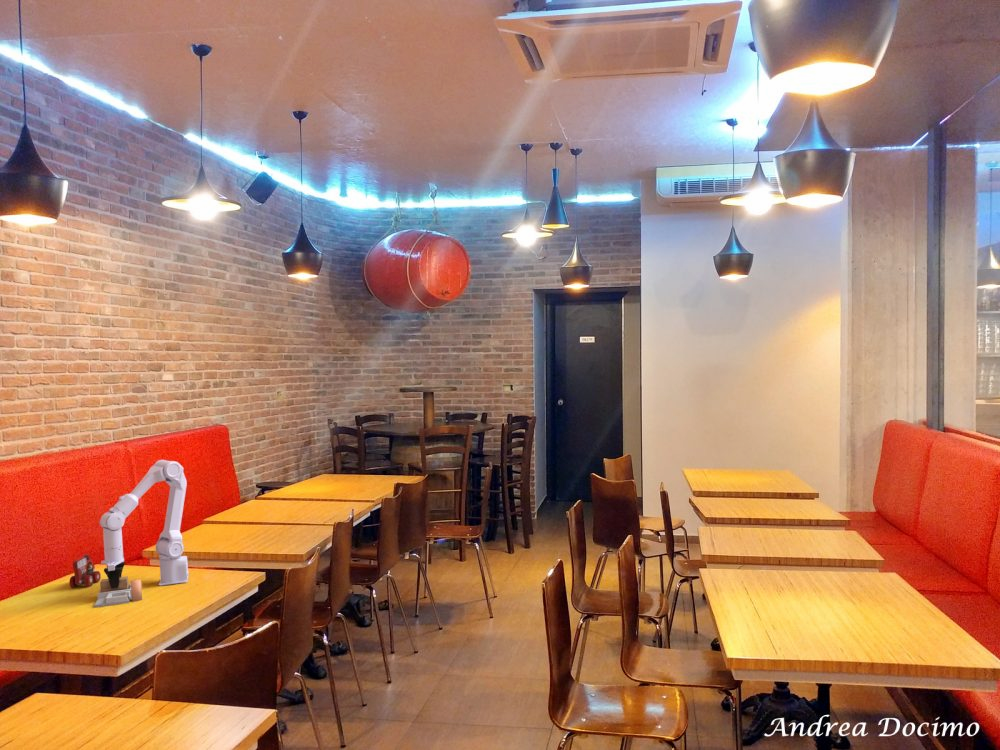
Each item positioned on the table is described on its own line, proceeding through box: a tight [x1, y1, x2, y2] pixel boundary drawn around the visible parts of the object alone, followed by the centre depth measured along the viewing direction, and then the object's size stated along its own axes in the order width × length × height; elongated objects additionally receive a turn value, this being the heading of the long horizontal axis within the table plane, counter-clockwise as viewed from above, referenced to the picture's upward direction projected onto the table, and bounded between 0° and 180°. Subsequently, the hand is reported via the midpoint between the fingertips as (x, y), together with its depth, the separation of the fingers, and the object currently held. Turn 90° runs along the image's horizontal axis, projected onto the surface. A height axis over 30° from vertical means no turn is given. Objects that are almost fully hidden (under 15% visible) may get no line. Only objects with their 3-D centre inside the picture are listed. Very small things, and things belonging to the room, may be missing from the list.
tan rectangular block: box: [99, 576, 130, 593], centre depth 269 cm, size 8×3×5 cm, turn 108°
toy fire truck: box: [68, 554, 101, 588], centre depth 285 cm, size 7×12×10 cm, turn 0°
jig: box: [93, 583, 132, 608], centre depth 266 cm, size 10×14×3 cm
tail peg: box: [130, 579, 143, 602], centre depth 264 cm, size 3×3×6 cm
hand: (115, 586), depth 269 cm, fingers closed on tan rectangular block, 3 cm apart
